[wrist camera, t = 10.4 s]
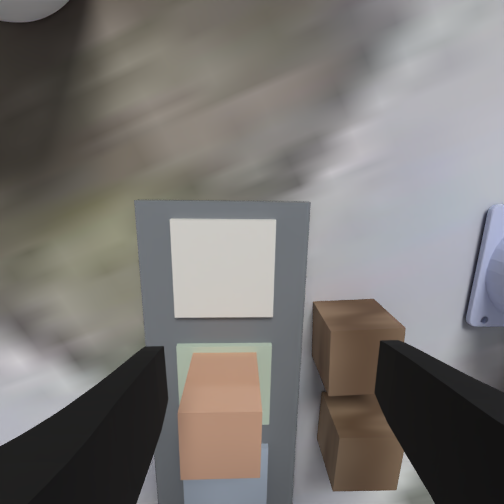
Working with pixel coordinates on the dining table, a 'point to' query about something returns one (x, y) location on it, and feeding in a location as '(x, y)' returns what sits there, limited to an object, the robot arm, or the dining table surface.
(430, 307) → the dining table surface
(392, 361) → the robot arm
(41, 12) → the cup
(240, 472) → the tan short square block
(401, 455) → the walnut cube
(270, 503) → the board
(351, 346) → the walnut cube
